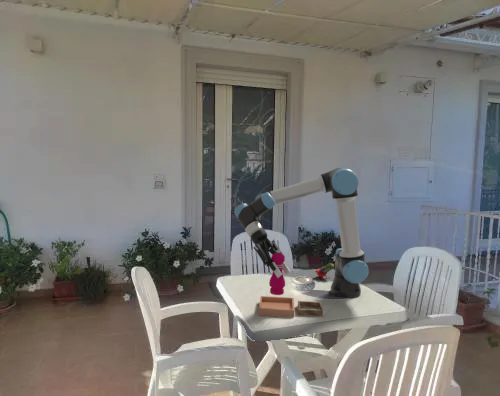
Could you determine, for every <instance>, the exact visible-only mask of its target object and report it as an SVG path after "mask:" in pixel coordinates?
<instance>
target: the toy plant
mask: <svg viewBox="0 0 500 396" xmlns="http://www.w3.org/2000/svg"><path fill="white" fill-rule="evenodd" d="M317 268H319V266H318V267H317ZM334 268H335V264H334V263H331V262H330V263H328V264H326V265H325V266H322V267H321V268H319V269H316V270H315V273H316V275H317V276H318V277H320V279H321V280H323V279H324V278H323V277H325V278H328V279H330V276H329V277H328V276H327V274H328V273H329V272H330V271H331V270H333V269H334Z"/></svg>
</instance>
